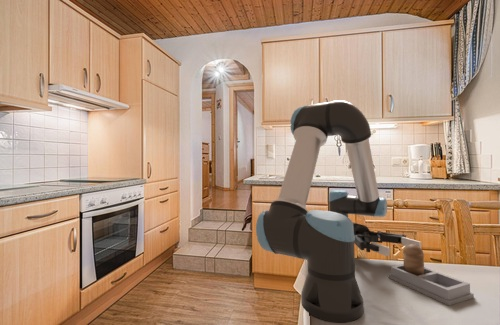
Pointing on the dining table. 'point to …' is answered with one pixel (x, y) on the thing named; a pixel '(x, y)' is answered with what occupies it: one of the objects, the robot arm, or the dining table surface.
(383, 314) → the dining table surface
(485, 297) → the dining table surface
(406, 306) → the dining table surface
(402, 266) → the two-compartment grey tray
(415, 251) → the wooden dome-top peg
